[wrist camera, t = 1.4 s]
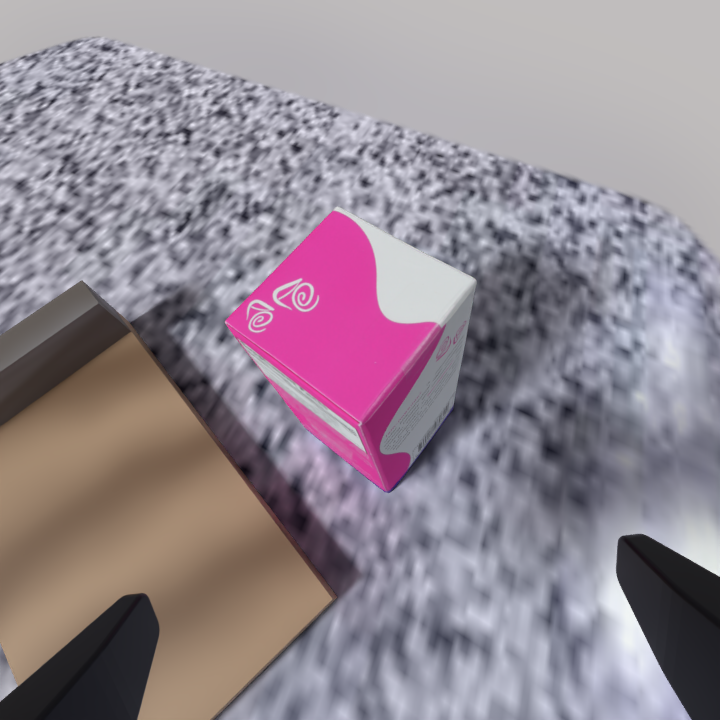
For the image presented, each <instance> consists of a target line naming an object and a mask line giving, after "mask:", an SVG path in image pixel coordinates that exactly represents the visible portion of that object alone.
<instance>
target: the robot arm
mask: <svg viewBox="0 0 720 720" xmlns="http://www.w3.org/2000/svg"><path fill="white" fill-rule="evenodd" d="M616 573H617V578H618V581H619V584H620V586H621V588H622V590H623V592H624V594H625V596H626V598H627V600H628V602H629V604H630V606H631V608H632V610H633V612H634V615H635V617H636V619H637V621H638V623H639V625H640V627H641V629H642V631H643V633H644V635H645V637H646V639H647V641H648V643H649V645H650V647H651V649H652V651H653V653H654V655H655V657H656V659H657V661H658V663H659V665H660V667H661V669H662V671H663V673H664V674H665V676H666V678H667V680H668V681H669V683H670V685H671V687H672V688H673V690H674V691H675V693H676V695H677V696H678V698H679V700H680V701H681V703H682V705H683V706H684V708H685V710H686V711H687V713H688V714H689V716H690V718H691V719H692V720H720V577H719V576H717V575H716V574H714V573H712V572H710V571H708V570H707V569H705V568H703V567H701V566H700V565H698V564H696V563H694V562H693V561H691V560H689V559H687V558H686V557H684V556H682V555H680V554H678V553H677V552H675V551H673V550H671V549H670V548H668V547H666V546H664V545H663V544H661V543H659V542H657V541H656V540H654V539H652V538H650V537H648V536H646V535H644V534H633V535H625V536H621V537H620V538H619V540H618V546H617V563H616ZM159 632H160V627H159V622H158V619H157V617H156V614H155V612H154V609H153V607H152V604H151V602H150V599H149V597H148V596H147V595H146V594H145V593H137V594H128V595H124V596H122V597H121V598H120V599H118V600H117V601H116V602H115V603H114V604H113V605H111V606H110V607H109V608H108V609H107V610H106V611H104V612H103V613H102V614H101V615H100V616H99V617H98V618H96V619H95V620H94V621H93V622H92V623H91V624H90V625H88V626H87V627H86V628H85V629H84V630H83V631H81V632H80V633H79V634H78V635H77V636H76V637H75V638H73V639H72V640H71V641H70V642H69V643H68V644H66V645H65V646H64V647H63V648H62V649H61V650H60V651H58V652H57V653H56V654H55V655H54V656H53V657H51V658H50V659H49V660H48V661H47V662H46V663H45V664H43V665H42V666H41V667H40V668H39V669H38V670H36V671H35V672H34V673H33V674H32V675H31V676H30V677H28V678H27V679H26V680H25V681H24V682H23V683H21V684H20V685H19V686H18V687H17V688H16V689H15V690H13V691H12V692H11V693H10V694H9V695H8V696H6V697H5V698H4V699H3V700H2V701H1V702H0V720H137V719H138V715H139V712H140V708H141V704H142V700H143V696H144V693H145V689H146V685H147V681H148V677H149V673H150V670H151V666H152V662H153V658H154V654H155V650H156V646H157V643H158V639H159Z"/></svg>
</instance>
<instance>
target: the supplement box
mask: <svg viewBox="0 0 720 720" xmlns="http://www.w3.org/2000/svg"><path fill="white" fill-rule="evenodd" d="M476 285H477V281H476V279H475V278H473V277H472V276H469V275H467V274H465V273H463V272H461V271H459V270H457V269H455V268H453V267H451V266H449V265H447V264H445V263H443V262H441V261H440V260H438V259H436V258H434V257H432V256H430V255H428V254H426V253H424V252H422V251H420V250H418V249H416V248H414V247H412V246H410V245H408V244H407V243H405V242H403V241H401V240H399V239H397V238H395V237H394V236H392V235H390V234H388V233H386V232H385V231H383V230H381V229H379V228H377V227H375V226H374V225H372V224H370V223H368V222H366V221H364V220H362V219H361V218H359V217H357V216H355V215H353V214H352V213H349V212H348V211H346V210H344V209H342V208H340V207H336V208H335V209H334V210H333V211H332V212H331V213H330V214H329V215H328V216H327V217H326V218H325V219H324V220H323V221H322V222H321V223H320V225H319V226H317V227H316V228H315V229H314V230H313V231H312V232H311V233H310V234H309V236H308V237H307V238H306V239H305V240H304V241H303V242H302V243H301V244H300V245H299V246H298V247H297V248H296V249H295V250H294V251H293V252H292V253H291V254H290V255H289V256H288V257H287V258H286V259H285V260H284V261H283V262H282V263H281V264H280V265H279V266H278V267H277V268H276V270H275V271H274V272H273V273H272V274H271V275H269V276H268V278H267V279H266V280H265V281H264V282H263V283H262V284H261V285H260V286H259V287H258V288H257V289H256V290H255V291H254V292H253V293H252V294H251V295H250V296H249V297H248V298H247V299H246V300H245V301H244V302H243V303H242V304H241V305H240V306H239V307H238V308H237V309H236V310H235V311H234V312H233V313H232V314H231V315H230V316H229V317H228V319H227V320H226V321H225V323H226V325H227V326H228V328H229V329H230V331H231V332H232V334H233V335H234V336H235V338H236V339H237V340H238V342H239V343H240V344H241V346H242V347H243V348H244V349H245V351H246V352H247V353H248V355H249V356H250V357H251V358H252V360H253V361H254V362H255V363H256V365H257V366H258V367H259V369H260V370H261V371H262V372H263V374H264V375H265V377H266V378H267V379H268V381H269V382H270V383H271V384H272V385H273V387H274V388H275V389H276V390H277V392H278V393H279V394H280V396H281V397H282V398H283V400H284V401H285V402H286V403H287V405H288V406H289V407H290V409H291V410H292V411H293V413H294V414H295V415H296V416H297V418H298V419H299V420H300V422H301V423H302V424H303V425H304V427H305V428H306V429H307V430H308V431H309V432H310V433H312V434H313V435H314V436H315V437H317V438H318V439H319V440H320V441H322V442H323V443H324V444H325V445H327V446H328V447H329V448H330V449H331V450H333V451H334V452H335V453H336V454H338V455H339V456H340V457H341V458H343V459H344V460H345V461H346V462H348V463H349V464H350V465H351V466H352V467H354V468H355V469H356V470H357V471H359V472H360V473H361V474H363V475H364V476H365V477H366V478H368V479H369V480H370V481H371V482H373V483H374V484H375V485H376V486H378V487H379V488H380V489H382V490H383V491H384V492H387V493H390V492H391V491H392V490H393V489H394V488H395V487H396V486H397V484H398V483H399V482H400V480H401V479H402V478H403V477H404V475H405V474H406V473H407V471H408V470H409V469H410V467H411V466H412V465H413V463H414V462H415V461H416V460H417V458H418V457H419V455H420V454H421V453H422V451H423V450H424V449H425V447H426V446H427V445H428V443H429V442H430V441H431V439H432V438H433V437H434V435H435V434H436V432H437V431H438V430H439V428H440V427H441V425H442V424H443V423H444V421H445V420H446V418H447V417H448V416H449V414H450V413H451V411H452V410H453V409H454V400H455V394H456V388H457V383H458V377H459V372H460V367H461V362H462V357H463V352H464V347H465V342H466V337H467V331H468V325H469V320H470V315H471V310H472V305H473V299H474V294H475V289H476Z"/></svg>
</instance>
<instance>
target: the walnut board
mask: <svg viewBox="0 0 720 720" xmlns="http://www.w3.org/2000/svg"><path fill="white" fill-rule="evenodd" d="M137 593H145V594H146V595H147V596H148V597H149V599H150V602H151V604H152V607H153V609H154V612H155V614H156V617H157V619H158V622H159V627H160V632H159V639H158V643H157V646H156V650H155V654H154V658H153V662H152V666H151V670H150V673H149V677H148V681H147V685H146V689H145V693H144V696H143V700H142V704H141V708H140V712H139V715H138V719H137V720H214V719H215V718H216V717H217V716H218V715H219V714H220V713H221V712H222V711H223V710H224V709H225V708H226V707H227V706H228V705H229V704H230V703H231V702H232V701H233V700H234V699H235V698H236V697H237V696H238V695H239V694H240V693H241V692H242V691H243V690H244V689H245V688H246V687H247V686H248V685H249V684H250V683H251V682H252V681H253V680H254V679H255V678H256V677H257V676H258V675H259V674H260V673H261V672H262V671H264V670H265V669H266V668H267V667H268V666H269V665H270V664H271V663H272V662H273V661H274V660H275V659H276V658H277V657H278V656H279V655H280V654H281V653H282V652H283V651H284V650H285V649H286V648H287V647H288V646H289V645H290V644H291V643H292V642H293V641H294V640H295V639H296V638H297V637H298V636H299V635H300V634H301V633H302V632H303V631H304V630H305V629H306V628H307V627H308V626H309V625H310V624H311V623H312V622H313V621H314V620H315V619H316V618H317V617H318V616H319V615H320V614H321V613H322V612H323V611H324V610H325V609H326V608H327V607H328V606H329V605H330V604H331V603H332V602H333V601H334V600H335V599H336V598H337V596H336V594H335V593H334V592H333V590H332V589H331V588H330V586H329V585H328V584H327V582H326V581H325V580H324V578H323V577H322V576H321V575H320V573H319V572H318V571H317V569H316V568H315V567H314V565H313V564H312V563H311V561H310V560H309V559H308V557H307V556H306V555H305V553H304V552H303V551H302V549H301V548H300V547H299V546H298V544H297V543H296V542H295V540H294V539H293V538H292V536H291V535H290V534H289V532H288V531H287V530H286V528H285V527H284V526H283V524H282V523H281V522H280V520H279V519H278V518H277V516H276V515H275V514H274V513H273V511H272V510H271V509H270V507H269V506H268V505H267V503H266V502H265V501H264V499H263V498H262V497H261V495H260V494H259V493H258V491H257V490H256V489H255V487H254V486H253V485H252V484H251V482H250V481H249V480H248V478H247V477H246V476H245V474H244V473H243V472H242V470H241V469H240V468H239V466H238V465H237V464H236V462H235V461H234V460H233V458H232V457H231V456H230V455H229V453H228V452H227V451H226V449H225V448H224V447H223V445H222V444H221V443H220V441H219V440H218V439H217V437H216V436H215V435H214V433H213V432H212V431H211V429H210V428H209V427H208V425H207V424H206V423H205V422H204V420H203V419H202V418H201V416H200V415H199V414H198V412H197V411H196V410H195V408H194V407H193V406H192V404H191V403H190V402H189V400H188V399H187V398H186V396H185V395H184V394H183V393H182V391H181V390H180V389H179V387H178V386H177V385H176V383H175V382H174V381H173V379H172V378H171V377H170V375H169V374H168V373H167V371H166V370H165V369H164V367H163V366H162V365H161V364H160V362H159V361H158V360H157V358H156V357H155V356H154V354H153V353H152V352H151V350H150V349H149V348H148V346H147V345H146V344H145V342H144V341H143V340H142V338H141V337H140V336H139V334H138V333H137V332H136V331H135V329H134V328H133V327H132V325H131V324H130V323H129V322H128V321H127V320H126V319H125V318H124V317H123V316H122V315H120V314H119V313H118V312H117V311H116V310H115V309H114V308H113V307H111V306H110V305H109V304H108V303H107V302H106V301H105V300H104V299H102V298H101V297H100V296H99V295H98V294H97V293H96V292H95V291H93V290H92V289H91V288H90V287H89V286H88V285H87V284H86V283H84V282H83V281H80V282H79V283H77V284H76V285H74V286H73V287H71V288H70V289H68V290H67V291H65V292H64V293H62V294H61V295H59V296H58V297H56V298H55V299H54V300H52V301H51V302H49V303H48V304H46V305H45V306H43V307H42V308H40V309H39V310H37V311H36V312H34V313H33V314H31V315H30V316H29V317H27V318H26V319H24V320H23V321H21V322H20V323H18V324H17V325H15V326H14V327H12V328H11V329H9V330H8V331H6V332H5V333H3V334H2V335H1V336H0V643H1V646H2V648H3V651H4V653H5V656H6V658H7V660H8V663H9V665H10V668H11V670H12V673H13V675H14V678H15V680H16V682H17V685H18V686H19V685H20V684H21V683H23V682H24V681H25V680H26V679H27V678H28V677H30V676H31V675H32V674H33V673H34V672H35V671H36V670H38V669H39V668H40V667H41V666H42V665H43V664H45V663H46V662H47V661H48V660H49V659H50V658H51V657H53V656H54V655H55V654H56V653H57V652H58V651H60V650H61V649H62V648H63V647H64V646H65V645H66V644H68V643H69V642H70V641H71V640H72V639H73V638H75V637H76V636H77V635H78V634H79V633H80V632H81V631H83V630H84V629H85V628H86V627H87V626H88V625H90V624H91V623H92V622H93V621H94V620H95V619H96V618H98V617H99V616H100V615H101V614H102V613H103V612H104V611H106V610H107V609H108V608H109V607H110V606H111V605H113V604H114V603H115V602H116V601H117V600H118V599H120V598H121V597H122V596H124V595H128V594H137Z"/></svg>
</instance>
